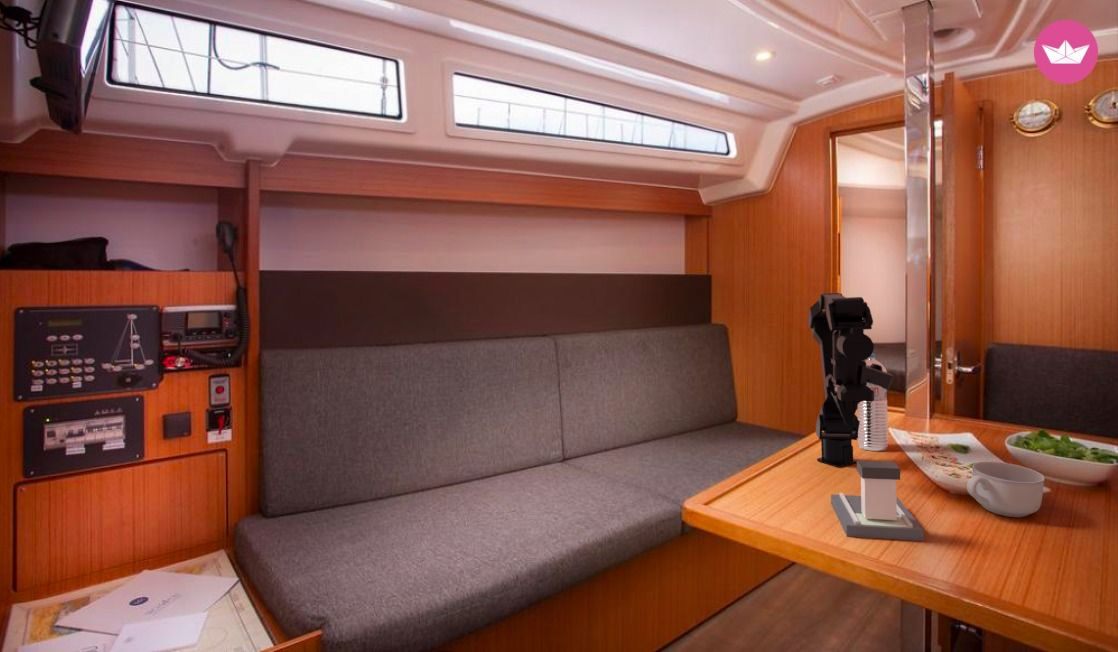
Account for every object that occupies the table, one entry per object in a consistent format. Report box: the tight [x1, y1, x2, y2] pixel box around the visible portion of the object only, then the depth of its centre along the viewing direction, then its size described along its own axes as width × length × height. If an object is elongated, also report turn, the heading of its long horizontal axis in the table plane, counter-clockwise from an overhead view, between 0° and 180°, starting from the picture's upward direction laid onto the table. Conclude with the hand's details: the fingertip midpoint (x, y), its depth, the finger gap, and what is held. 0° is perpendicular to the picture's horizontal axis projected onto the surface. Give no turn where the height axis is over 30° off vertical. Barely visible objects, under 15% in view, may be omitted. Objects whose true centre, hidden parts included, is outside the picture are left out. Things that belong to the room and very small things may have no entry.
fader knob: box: [856, 459, 901, 520], centre depth 102 cm, size 4×6×10 cm, turn 74°
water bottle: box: [857, 353, 889, 452], centre depth 149 cm, size 7×7×25 cm
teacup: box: [966, 460, 1046, 518], centre depth 107 cm, size 14×11×8 cm
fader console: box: [830, 492, 925, 542], centre depth 106 cm, size 15×12×3 cm
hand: (848, 425), depth 125 cm, fingers closed
